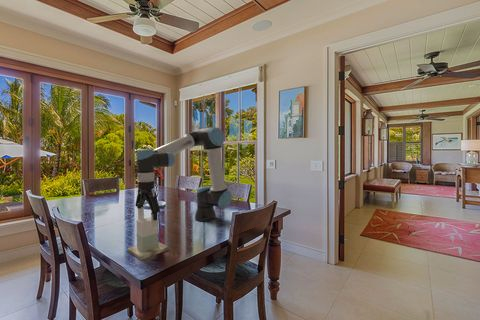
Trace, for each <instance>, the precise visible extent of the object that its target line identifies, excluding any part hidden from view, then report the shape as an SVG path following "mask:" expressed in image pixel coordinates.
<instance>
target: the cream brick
mask: <svg viewBox="0 0 480 320" xmlns="http://www.w3.org/2000/svg"><path fill="white" fill-rule="evenodd" d="M157 220H158V221H159V219H158V218H157ZM156 233H158V234H159V225H158V226H156V227H153V228H152V226H151V216H149V217H144V219H140V220H138V219H136V236H137V235H139V236H141V237H146V236H150V235H153V234H156Z"/></svg>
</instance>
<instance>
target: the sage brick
mask: <svg viewBox="0 0 480 320" xmlns="http://www.w3.org/2000/svg"><path fill="white" fill-rule="evenodd" d="M158 242H159V232H158V233H156V234H153V235H150V236H146V237H141V236H139V235H137V234H136V245H137V249H139V250H140V251H142V252H144V251H147V250H150V249H153V248H156V247H158Z"/></svg>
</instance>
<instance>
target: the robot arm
mask: <svg viewBox="0 0 480 320" xmlns="http://www.w3.org/2000/svg"><path fill="white" fill-rule="evenodd" d="M224 141H225V135H224V131H223V130H222V129H221V128H219V127H215V126H213V127H200V128H199V127H198V128H196V129H194V130H191V131H190V132H187V133H185V134H184V135H183V136H182V137H180V138H178V139H175V140H173V141H171V142H169V143H166V144H164V145H162V146H159V147H157V148H155V149H151V148H149V149H148V148H147V149H142V148H141V149H138V150H137V152H136V165H137V166H136V167H137V168H136V169H137V175H136V177H137V181H138V182H137V196H136V200H135V207H136V208H137V220H140V219H144V218H145V206H144V205H145V203H146V202H147V203H148V204H147V205H148V206H149V208H150V211H151V213H150V217H151V226H152V228H153V227H156V226H158V227H159V219H158V214H159V213H161V209H160V205H159V201H158V197H157V192H156V191H153V190H154V189H155V187H156V185H155V169H157V168H169V167H173V166H174V165H175V163H176V158H175V155H176V154H178V153H180V152H182V151H184V150H187V149H188V148H189V149H190V148H191V149H193V148H194V147H201V146H202V147H203V149H204V150H205V152H206V155H207V163H208V169H209V175H210V181H211V182H210V183H211V185H208V186H201V187H198V188H197V189H196V211H195V214H194V221H197V222H203V221H205V222H210V220H212V221H214V220H213V219H215V218H216V219H217V215H216V212H215V211H216V210H215V209H214V207H217V208H219V209H220V208H223V209H224V208H227V207H229V205H230V204H231V201H232V199H233V194H232V192H231V191H230V190H228V186H227V185H226V183H225V179H224V178H225V177H224V171H223V164H222V156H221V149H222V147H223V146H222V145H223V144H224ZM157 219H158V220H157ZM216 219H215V220H216Z"/></svg>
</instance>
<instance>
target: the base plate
mask: <svg viewBox="0 0 480 320" xmlns="http://www.w3.org/2000/svg"><path fill="white" fill-rule="evenodd" d="M126 249H127V250H126V251H127V252H128V253H129V254H131V255H133V256H134V257H135V258H136V259H138V260H139V261H142V260H145V259H147V258H150V257H152V256H155V255H158V254H160V253H164V252H166V251H168V250H169V246H167V245H165V244H164V243H161V242H160V241H158V247H156V248H153V249H150V250H147V251H144V252H142V251H140V250H139V249H137V244H136V245H132V246H130V247H127V248H126Z"/></svg>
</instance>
